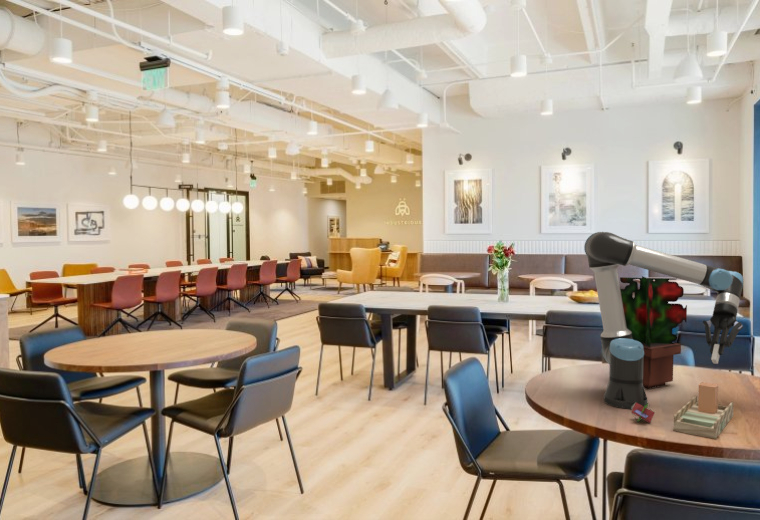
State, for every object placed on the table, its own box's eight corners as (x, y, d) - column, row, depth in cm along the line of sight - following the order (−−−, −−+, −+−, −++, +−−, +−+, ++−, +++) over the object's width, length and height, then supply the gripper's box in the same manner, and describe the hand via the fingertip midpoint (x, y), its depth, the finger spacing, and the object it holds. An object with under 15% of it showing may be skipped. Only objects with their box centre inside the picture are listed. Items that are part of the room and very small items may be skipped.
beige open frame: (715, 439, 180) (716, 423, 180) (673, 430, 188) (673, 415, 187) (733, 415, 203) (733, 401, 203) (694, 409, 210) (695, 395, 210)
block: (714, 413, 195) (715, 387, 195) (698, 411, 199) (698, 384, 198) (717, 410, 199) (718, 384, 199) (701, 407, 202) (701, 382, 202)
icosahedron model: (662, 416, 195) (647, 395, 198) (656, 421, 190) (641, 399, 193) (644, 425, 199) (630, 404, 202) (637, 430, 194) (623, 408, 197)
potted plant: (684, 386, 242) (687, 278, 240) (651, 393, 231) (654, 280, 229) (637, 375, 261) (639, 275, 259) (604, 381, 250) (606, 277, 248)
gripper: (748, 314, 214) (738, 369, 203) (709, 313, 223) (697, 365, 212) (743, 302, 210) (732, 357, 199) (704, 301, 219) (691, 354, 208)
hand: (714, 361), depth 206 cm, fingers closed
